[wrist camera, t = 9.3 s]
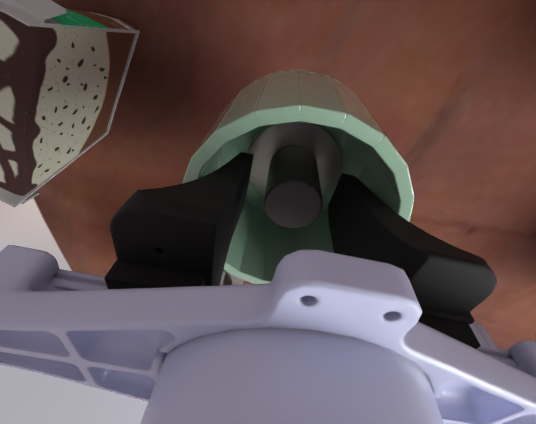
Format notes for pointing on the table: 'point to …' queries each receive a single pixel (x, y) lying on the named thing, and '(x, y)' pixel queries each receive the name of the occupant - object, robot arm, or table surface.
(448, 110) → the table surface
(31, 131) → the food container
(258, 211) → the cup
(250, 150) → the lid
